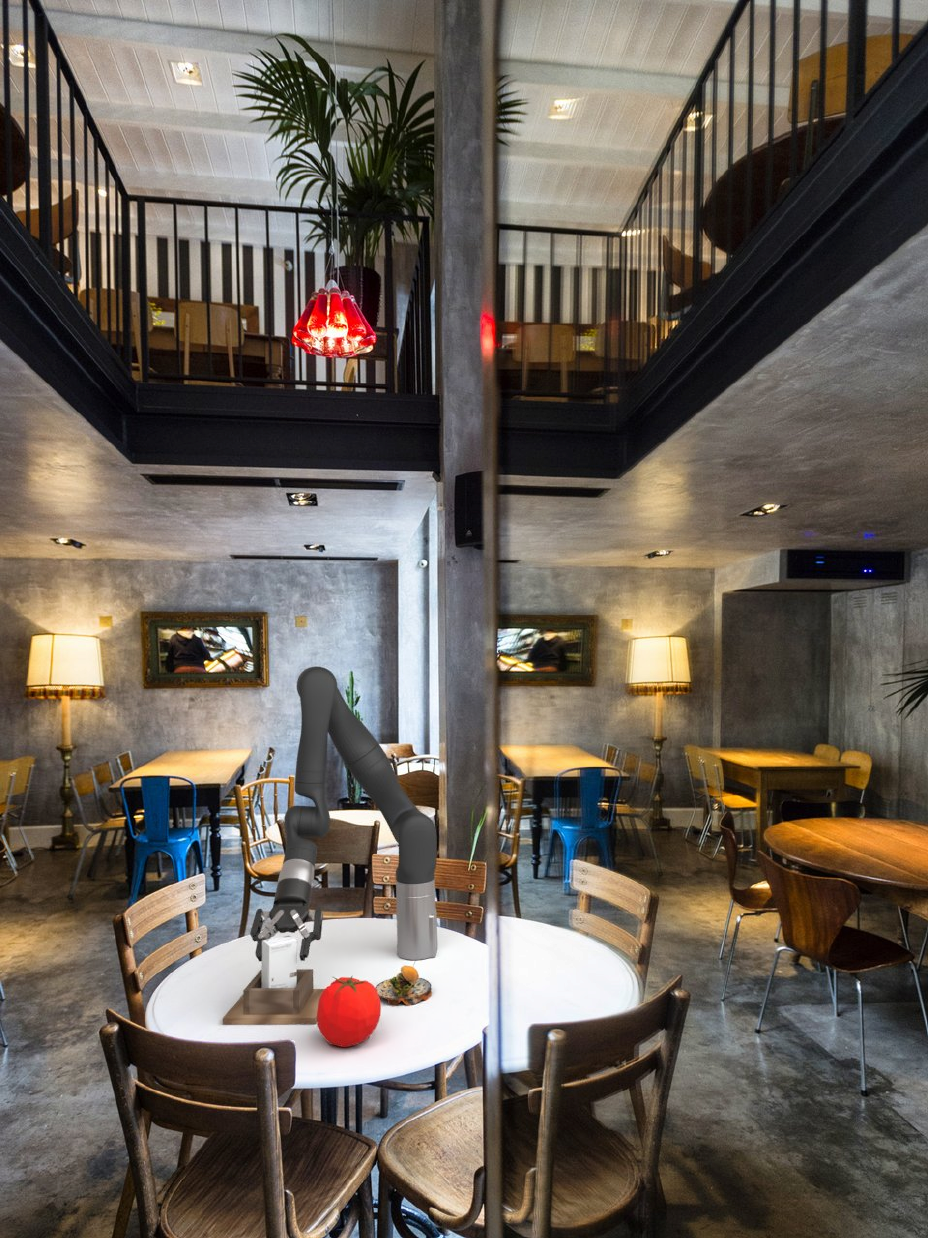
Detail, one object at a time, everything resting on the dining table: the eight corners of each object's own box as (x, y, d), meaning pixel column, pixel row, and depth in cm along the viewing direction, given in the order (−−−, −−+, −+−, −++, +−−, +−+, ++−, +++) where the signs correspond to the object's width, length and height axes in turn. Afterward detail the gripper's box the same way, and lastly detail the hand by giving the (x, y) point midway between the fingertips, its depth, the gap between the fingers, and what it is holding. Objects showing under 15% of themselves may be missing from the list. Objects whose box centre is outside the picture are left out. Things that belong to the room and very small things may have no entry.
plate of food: (395, 981, 170) (395, 946, 170) (442, 990, 164) (441, 953, 165) (363, 1002, 159) (362, 964, 160) (412, 1012, 153) (411, 973, 154)
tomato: (313, 1032, 145) (312, 971, 146) (374, 1022, 148) (373, 962, 149) (322, 1062, 134) (321, 995, 134) (387, 1050, 137) (386, 985, 138)
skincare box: (268, 1010, 153) (268, 946, 154) (260, 1002, 156) (260, 940, 157) (298, 1002, 156) (297, 939, 157) (289, 995, 160) (289, 934, 161)
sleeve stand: (332, 994, 162) (331, 966, 163) (315, 1024, 148) (315, 993, 149) (246, 995, 163) (246, 967, 164) (222, 1024, 149) (222, 994, 150)
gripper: (258, 877, 167) (241, 951, 155) (324, 875, 166) (312, 950, 154) (266, 895, 172) (250, 969, 159) (330, 894, 171) (319, 967, 159)
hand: (281, 959), depth 157 cm, fingers open, 8 cm apart
